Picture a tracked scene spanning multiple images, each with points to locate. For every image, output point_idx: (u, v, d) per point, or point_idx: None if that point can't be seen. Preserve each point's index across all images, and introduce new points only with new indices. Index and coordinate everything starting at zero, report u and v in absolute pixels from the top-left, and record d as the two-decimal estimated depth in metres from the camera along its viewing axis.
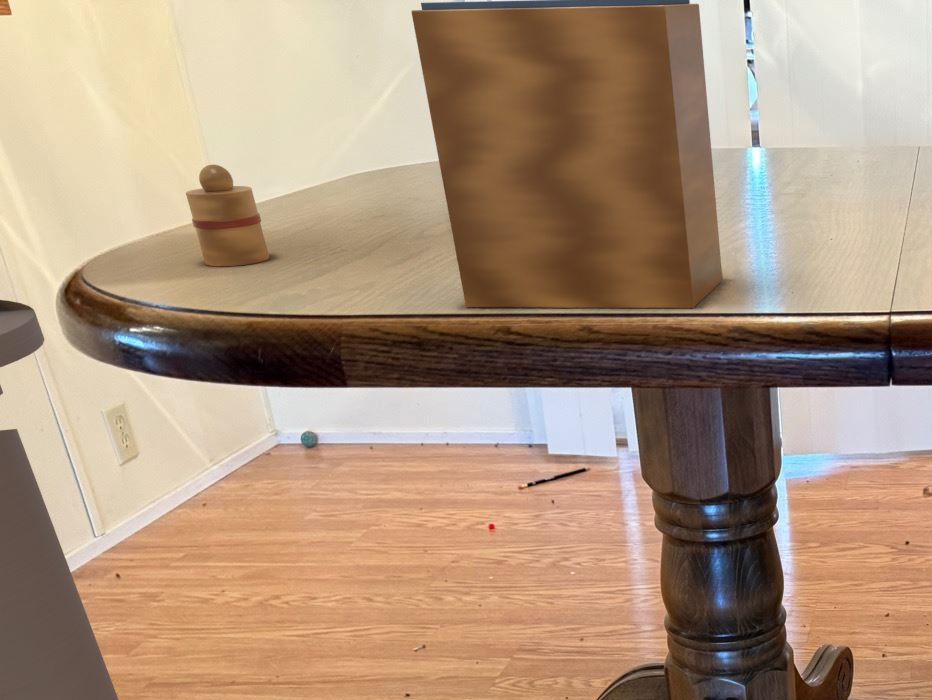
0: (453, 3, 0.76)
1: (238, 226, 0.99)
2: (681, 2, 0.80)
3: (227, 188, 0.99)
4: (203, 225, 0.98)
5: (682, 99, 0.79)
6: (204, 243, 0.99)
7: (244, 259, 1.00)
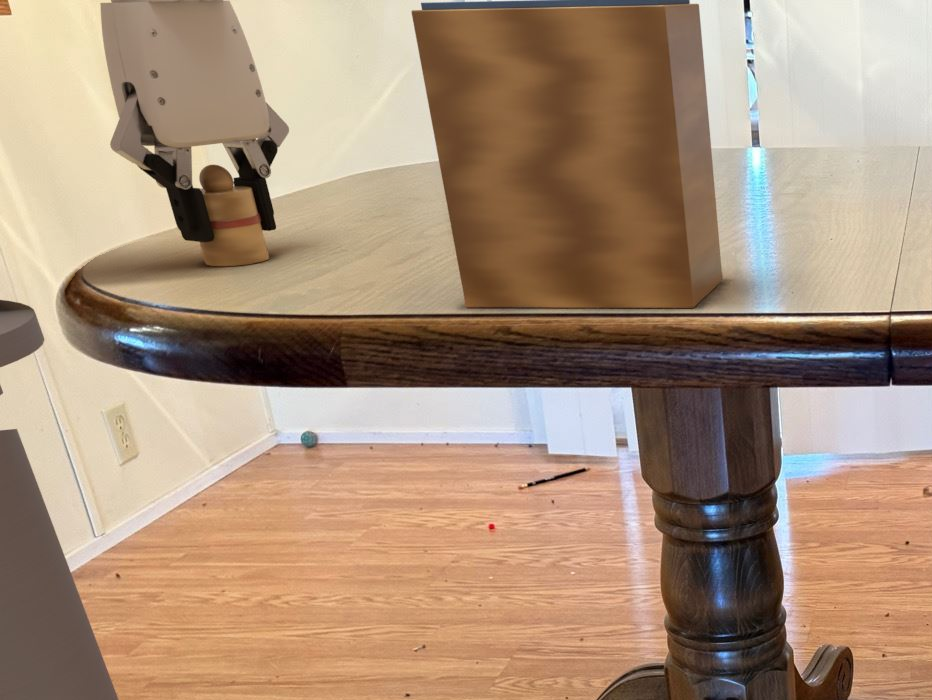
0: (453, 3, 0.76)
1: (238, 226, 0.99)
2: (681, 2, 0.80)
3: (227, 188, 0.99)
4: None
5: (682, 99, 0.79)
6: (204, 243, 0.99)
7: (244, 259, 1.00)
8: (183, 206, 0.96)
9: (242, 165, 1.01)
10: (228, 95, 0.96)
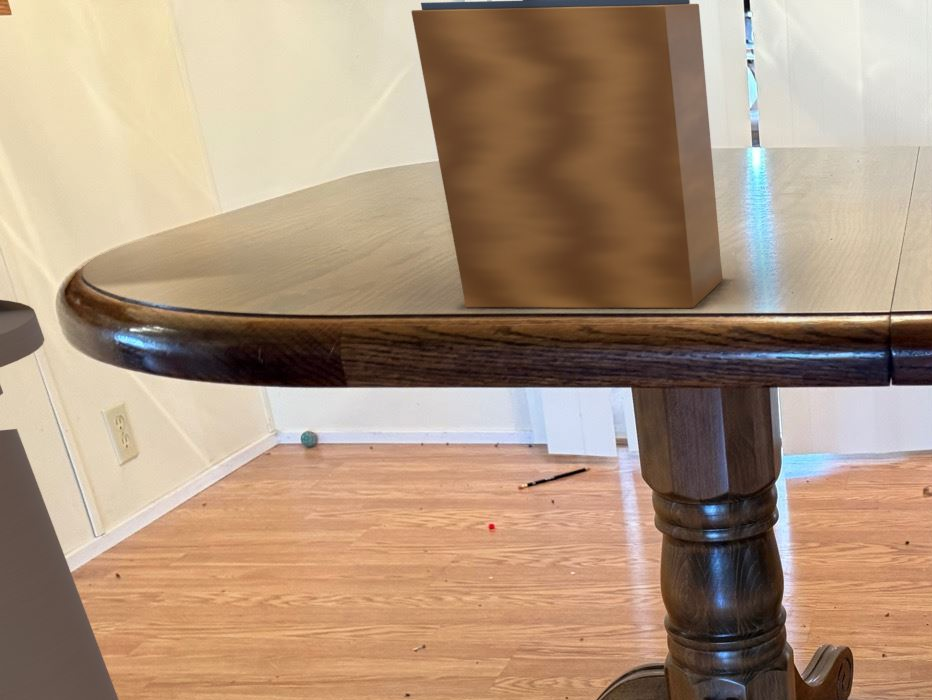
0: (453, 3, 0.76)
1: None
2: (681, 2, 0.80)
3: None
4: None
5: (682, 99, 0.79)
6: None
7: None
8: None
9: None
10: None
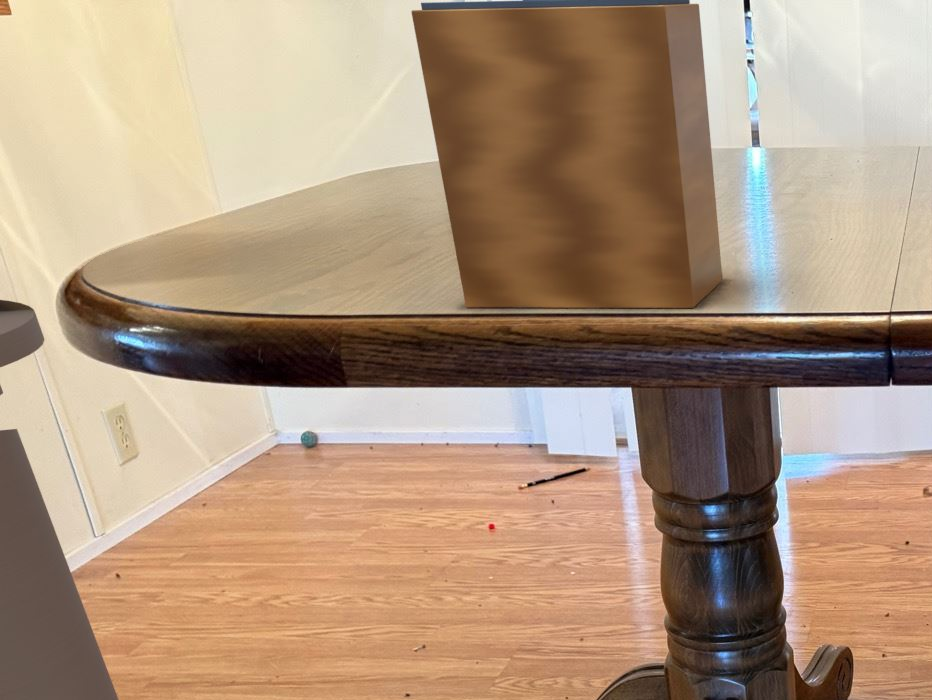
0: (453, 3, 0.76)
1: None
2: (681, 2, 0.80)
3: None
4: None
5: (682, 99, 0.79)
6: None
7: None
8: None
9: None
10: None
